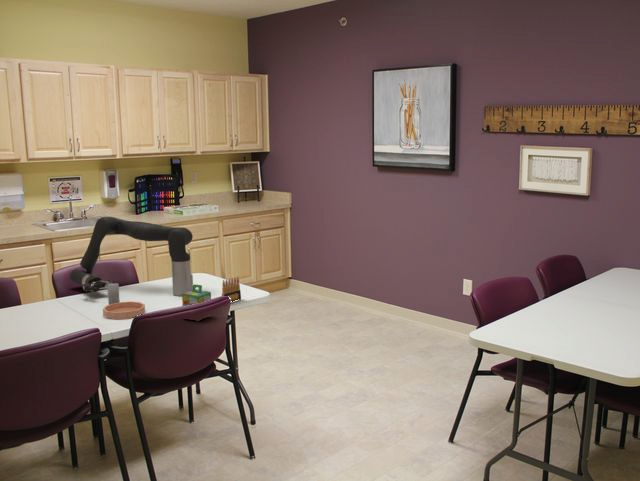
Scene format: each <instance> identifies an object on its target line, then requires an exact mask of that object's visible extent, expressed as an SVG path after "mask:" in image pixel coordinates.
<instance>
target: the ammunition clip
mask: <svg viewBox="0 0 640 481" xmlns="http://www.w3.org/2000/svg"><path fill="white" fill-rule="evenodd" d="M221 286H222V288H221V291H222V292H221V297H222V296H229V297H230V298H231V301H232V302H233V301H235V300H238V299H241V300H242V293H241V284H240V278H239V275H238V276H235V277H234V278H233V277H231V279H230V278H228V279H227V278H226V279H223V280H222V285H221ZM233 303H234V302H233Z"/></svg>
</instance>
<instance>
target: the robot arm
mask: <svg viewBox="0 0 640 481" xmlns="http://www.w3.org/2000/svg"><path fill="white" fill-rule="evenodd" d="M91 234H92V235H91V237H90V240H89V244H88V246H87V248H86V250H85V252H84V254H83V256H82V259H81V261H80V263H79V266H80V267H81V268H83V269H85V270H82V269H79V268H77V269H73V270H71V272H70V274H69V280H70V281H71V282H72V283H74V284H78V285H81V286H82V290H83V291H85V292H94V293H96V292H98V291H100V290H101V289H104V290H105V289H107V290H108V288H107V285H108V284H111V283H116V282H115V281H113V280H111V279H109V280H107V281H105V280H102V278H101V277H100V276H97V275H95V274H93V273H94V269H95V268H94V267H95V265H96V264H97V261H98V260H99V257H100V254H101V253H100V252H101V246H102V245H101V244H102V242H103V240H104V238H105V237H106V236H110V235H121V236H122V235H123V236H128V237H130V238H132V239H134V240H139V241H144V242H163V241H164V242H167V244H168V253H169V256H170V260H171V264H170V265H171V276H172V277H171V279H172V280H171V281H172V282H171V283H172V295H173V296H178V297H182V294H183V293H186V292H189V291H192V290H193V285H194V277H193V274H192V272H191V271H192V270H191V255H190V253H189V252H187V248H186V246H187V245H189V244H190V243H191V242H192V241H193V233H192V231H191V230H189V228H186V227H184V226H183V227H179V226H177V227H176V226H175V227H173V226H166V225H160V224H157V223H151V222H144V221H138V220H137V221H135V220H133V221H129V220H124V219H120V218H117V217H113V216H101V217H99V218H98V219H97V220H96V222H95V225H94V227H93V231H92V233H91Z"/></svg>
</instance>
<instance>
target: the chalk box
mask: <svg viewBox="0 0 640 481" xmlns="http://www.w3.org/2000/svg"><path fill="white" fill-rule="evenodd" d="M196 288H198V289H196ZM181 298H182V300H181V302H182V307H183V306H187V305H192V304H197V303H201V302H204V301H208V300H211V301H212V292H211V291H208V290H203V286H202V284H194V283H193V290H192V291H189V292H186V293H183V294H182V296H181Z"/></svg>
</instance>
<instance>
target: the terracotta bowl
mask: <svg viewBox="0 0 640 481" xmlns="http://www.w3.org/2000/svg"><path fill="white" fill-rule="evenodd" d="M144 312H146V305H145V303H143V302H140V301H120V302H119V303H114V304H110V305H109V304H108V305H105V306H104V307H103V309H102V317H104V316H105V317H104V318H106V319H108V318H112V319H111V320H128V318H129V319H133V318H132V317H134V318H136V317H135V316H137V315H140V314H142V315H144V314H145V313H144ZM140 316H141V315H140Z"/></svg>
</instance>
